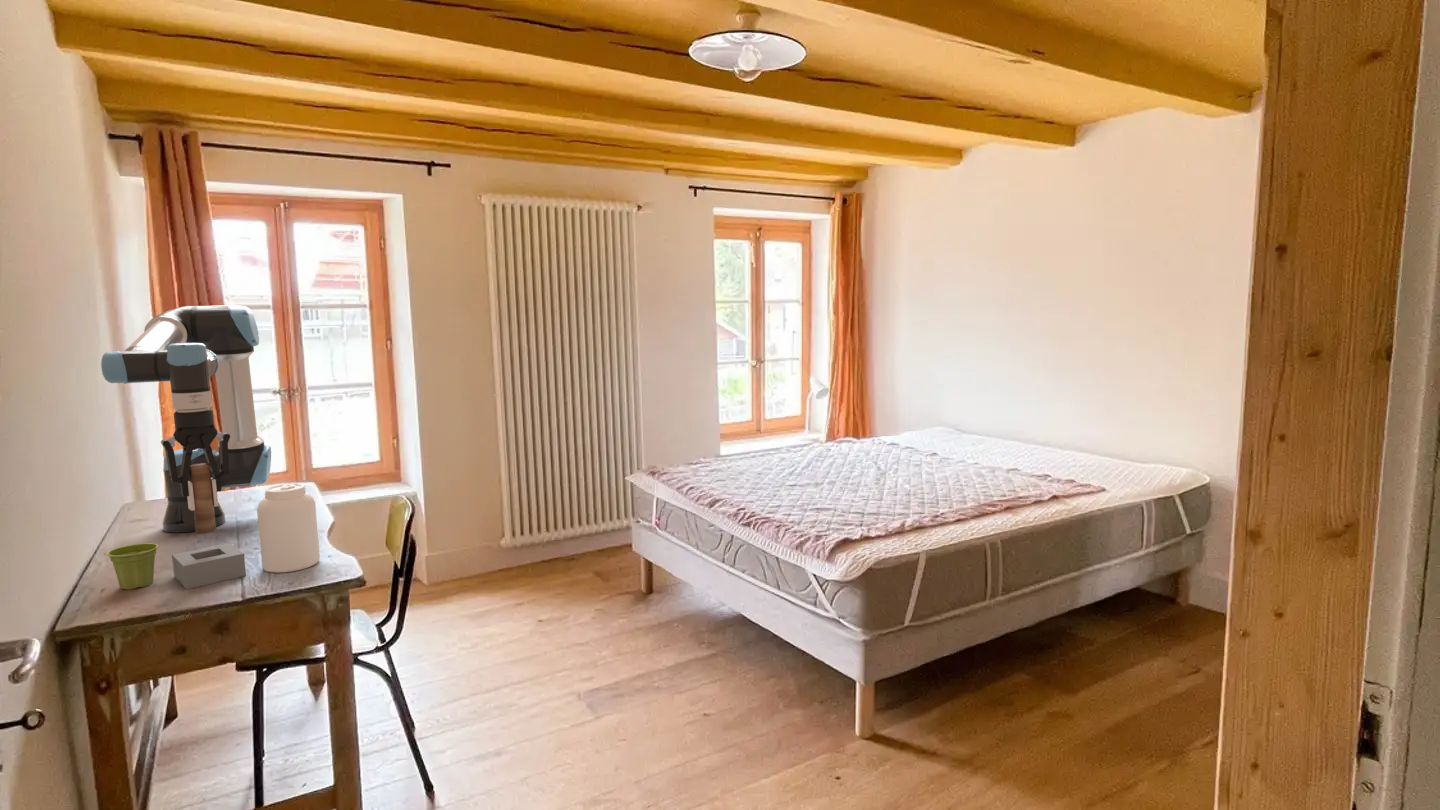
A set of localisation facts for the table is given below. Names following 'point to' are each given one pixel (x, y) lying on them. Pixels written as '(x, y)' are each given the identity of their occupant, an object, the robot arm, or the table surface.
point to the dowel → (202, 498)
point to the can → (288, 529)
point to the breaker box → (208, 565)
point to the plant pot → (134, 564)
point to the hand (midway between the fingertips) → (203, 507)
